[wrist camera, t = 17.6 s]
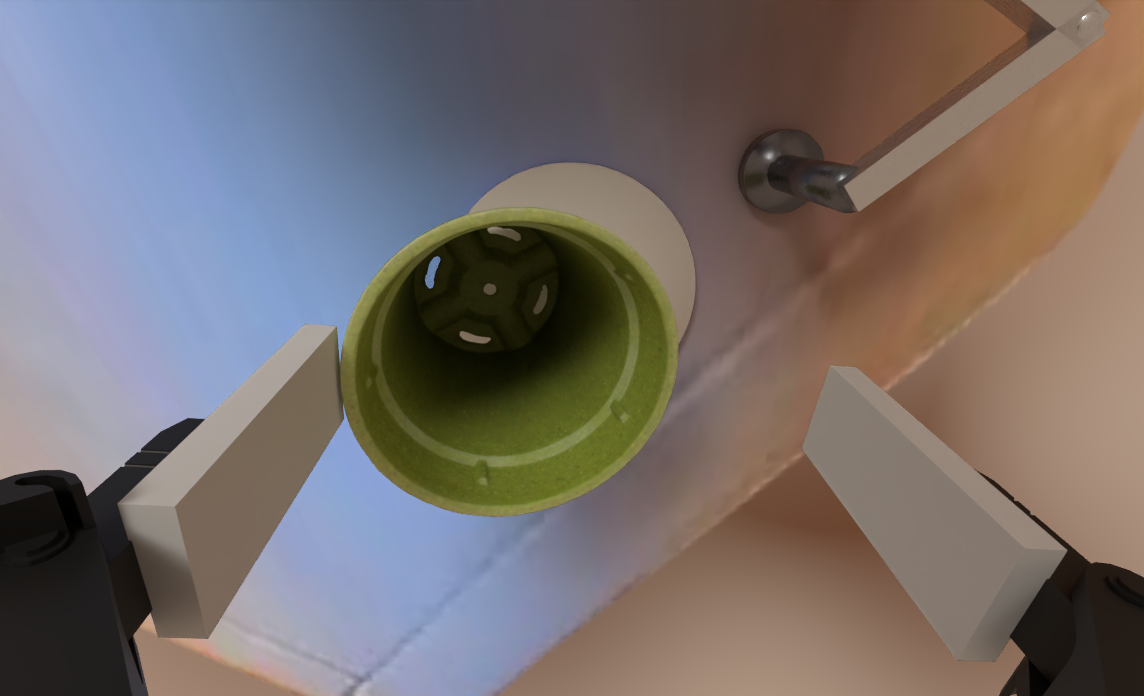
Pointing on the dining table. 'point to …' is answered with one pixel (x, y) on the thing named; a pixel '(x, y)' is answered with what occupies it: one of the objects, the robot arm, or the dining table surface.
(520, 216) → the plant pot
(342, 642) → the dining table surface
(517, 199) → the pad
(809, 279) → the dining table surface
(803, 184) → the zigzag bar on posts
